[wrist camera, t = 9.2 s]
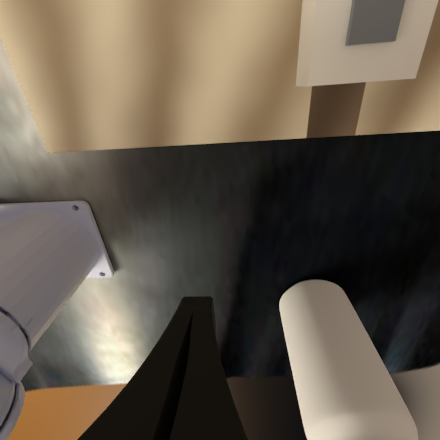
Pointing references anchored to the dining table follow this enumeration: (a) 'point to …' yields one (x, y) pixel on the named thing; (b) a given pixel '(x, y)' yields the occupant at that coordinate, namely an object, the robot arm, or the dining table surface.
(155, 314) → the dining table surface
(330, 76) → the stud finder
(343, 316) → the can
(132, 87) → the board
